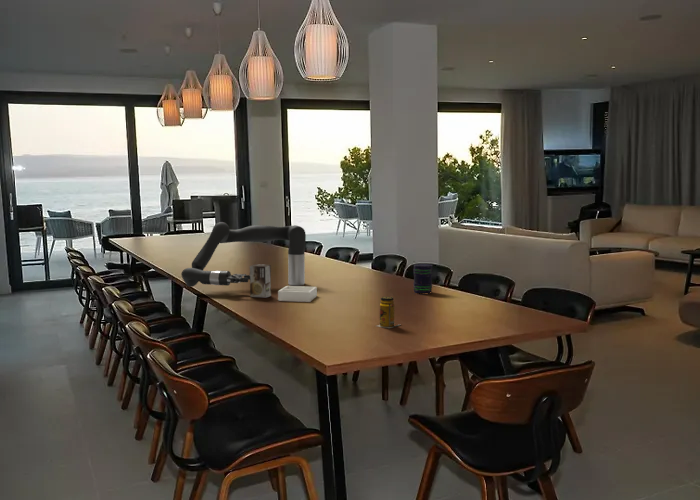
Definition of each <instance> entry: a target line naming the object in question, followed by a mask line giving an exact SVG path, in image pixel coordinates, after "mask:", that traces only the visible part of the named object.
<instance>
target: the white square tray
mask: <svg viewBox="0 0 700 500" xmlns="http://www.w3.org/2000/svg"><path fill="white" fill-rule="evenodd" d="M317 290H318V288H317V286H304V285H286V286H284V287H282V288H281V289H279V290H277V301H278V302H279V301H280V302H299V303H300V302H302V303H305V302H306V303H311V302H312V301H313V300H315V298H317V295H318V293H317V292H318V291H317Z"/></svg>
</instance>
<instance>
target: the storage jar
mask: <svg viewBox="0 0 700 500" xmlns="http://www.w3.org/2000/svg"><path fill="white" fill-rule="evenodd" d="M432 276H433V264H431V263H430V264H429V263H414V264H413V286H412V287H413V291H414V292H415V293H430V292H432V289H433V283H432V279H433V277H432ZM415 293H414V294H415Z"/></svg>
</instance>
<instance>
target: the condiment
mask: <svg viewBox="0 0 700 500" xmlns="http://www.w3.org/2000/svg"><path fill="white" fill-rule="evenodd" d="M394 302H395V301H394V297H393V296H382V297H380V304H379V324H378V325H376V327H378V328H384V329H393V328H396V327H399V326H400V324H398V323H397V324H398V325H396V326H394V324H395V303H394Z"/></svg>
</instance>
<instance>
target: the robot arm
mask: <svg viewBox="0 0 700 500" xmlns="http://www.w3.org/2000/svg"><path fill="white" fill-rule="evenodd" d="M306 239H307V236H306V231H305V229H304V228H303V227H302V226H299V225H288V226H287V225H286V226H274V225H265V224H264V225H263V224H262V225H261V224H260V225H259V224H258V225H256V224H255V225H249V226H246V227H243V228H239V229H231V228H230V226H229V225H228V224H227V223H226V222H223V221H220V222H216V224H214V226H213V227H212V230H211V233H210V234H209V237H208V238H207V240H206V242H205V243H204V244H203V246H202V248H201V249H200V250H199V252H198V253H197V254H196V256H195V257H194V258H193V260H192V262H191V267H187V268H185V269H183V270H181V274H180V275H181V278H182V280H183V282H184V283H185V285H186V286H187V287H189V288H192V287H194V286H196V285H197V284H198V283H201V284H202V285H207V286H208V285H211V286H230V285H231V284H238V283H239V284H240V283H249V281H250V274H249V275H248V274H246V273H233V274H231V273H232V272H231V271H230V270H204V269H205V268H206V266H208V264H209V262H210V260H211V259H212V257H213V254H214V253H215V251H216V250H217V248H218V246H219V244H227V243H228V244H230V243H241V242H242V243H251V242H252V243H264V242H265V243H267V242H272V241H289V246H288V250H287V259H288V260H287V262H288V263H287V265H288V266H287V268H288V269H287V270H288V272H287V274H288V275H287V278H288V279H287V280H288V282H287V284H288V286H304V285H305V273H306V271H305V260H306V259H305V258H306V257H305V254H306V253H305V252H306V243H307V242H306Z"/></svg>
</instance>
